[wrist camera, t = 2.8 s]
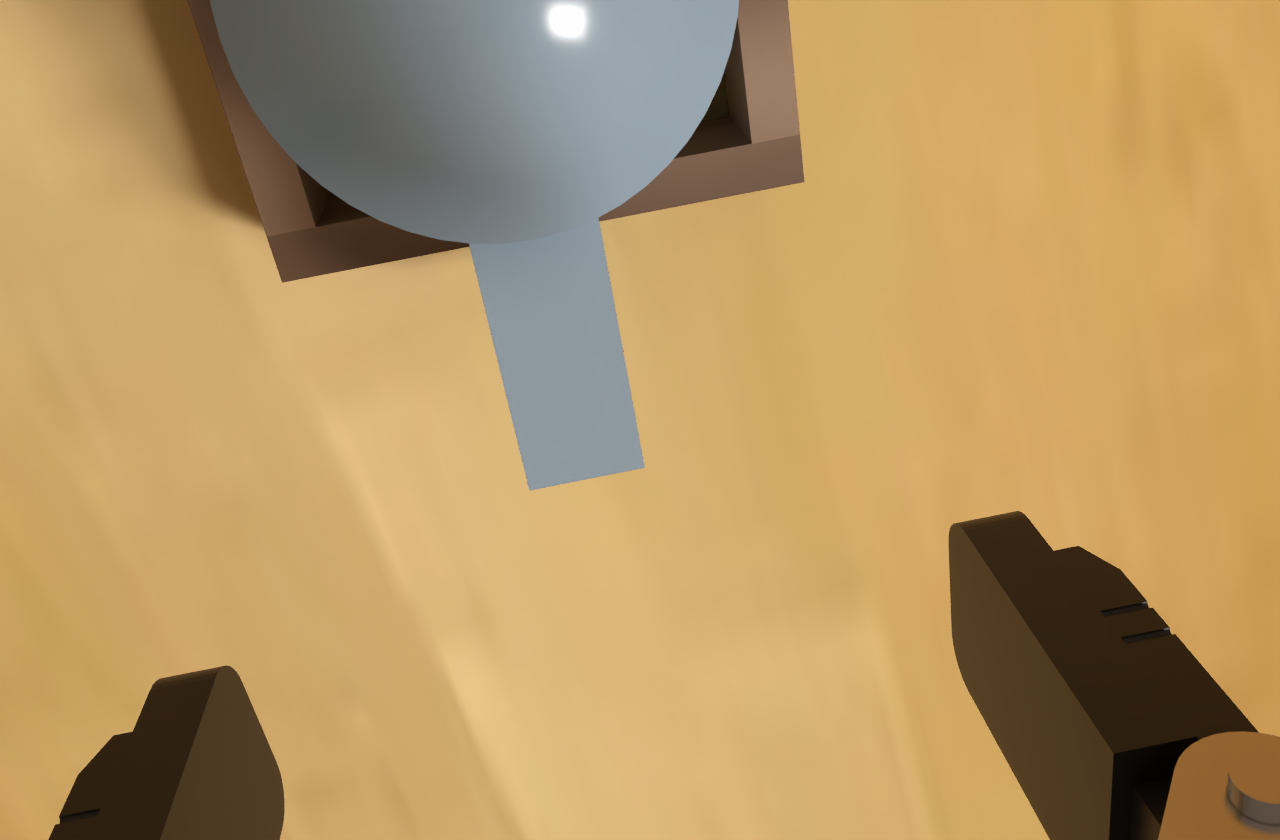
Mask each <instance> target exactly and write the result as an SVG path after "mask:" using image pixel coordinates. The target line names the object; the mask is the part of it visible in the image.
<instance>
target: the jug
mask: <svg viewBox="0 0 1280 840" xmlns="http://www.w3.org/2000/svg"><path fill="white" fill-rule="evenodd" d="M210 4H211V8H212V12H213V16H214V19H215V23H216V27H217V31H218V35H219V39H220V42H221V44H222V47H223V49H224V52H225V54H226V57H227V59H228V62H229V64H230V67H231V69H232V72H233V74H234V76H235V78H236V80H237V82H238V84H239V86H240V87H241V89H242V91H243V93H244V95H245V97H246V98H247V100H248V102H249V104H250V106H251V108H252V109H253V110H254V112H255V113H256V115H257V116H258V117H259V119H260V120H261V122H262V123H263V125H264V126H265V127H266V129H267V130H268V132H269V133H270V134H271V136H272V137H273V138H274V139H275V140H276V142H277V143H278V144H279V145H280V146H281V147H282V148H283V149H284V150H285V152H286V153H287V154H288V155H289V156H290V157H291V158H292V159H293V160H294V162H295V163H296V164H298V165H299V166H300V167H301V168H302V169H303V170H304V171H306V172H307V173H308V174H309V175H310V176H311V177H312V178H313V179H315V180H316V181H317V182H318V183H319V184H320V185H321V186H323V187H324V188H326V189H327V190H329V191H330V192H332V193H333V194H334V195H336V196H337V197H339V198H340V199H342V200H343V201H345V202H346V203H347V204H349V205H351V206H353V207H354V208H356V209H358V210H360V211H362V212H364V213H366V214H368V215H370V216H372V217H373V218H375V219H377V220H379V221H382V222H384V223H387V224H390V225H392V226H395V227H397V228H400V229H403V230H405V231H408V232H411V233H415V234H419V235H423V236H427V237H431V238H435V239H439V240H446V241H454V242H462V243H469V246H470V250H471V254H472V258H473V262H474V266H475V270H476V274H477V278H478V282H479V286H480V291H481V295H482V299H483V303H484V307H485V311H486V315H487V319H488V323H489V327H490V331H491V335H492V339H493V343H494V348H495V352H496V356H497V360H498V364H499V368H500V372H501V376H502V380H503V384H504V388H505V392H506V396H507V400H508V405H509V409H510V413H511V417H512V421H513V425H514V429H515V433H516V437H517V441H518V445H519V449H520V453H521V457H522V462H523V466H524V470H525V474H526V478H527V482H528V486H529V490H535V489H540V488H545V487H550V486H555V485H560V484H565V483H570V482H575V481H580V480H585V479H590V478H595V477H600V476H605V475H610V474H615V473H620V472H625V471H631V470H636V469H641V468H645V467H644V461H643V456H642V450H641V445H640V440H639V434H638V429H637V423H636V418H635V413H634V407H633V402H632V396H631V391H630V386H629V380H628V375H627V369H626V364H625V359H624V353H623V348H622V342H621V337H620V332H619V326H618V321H617V315H616V310H615V305H614V299H613V294H612V288H611V283H610V278H609V272H608V267H607V261H606V256H605V251H604V245H603V240H602V234H601V229H600V224H599V217H600V216H602V215H604V214H606V213H608V212H609V211H611V210H613V209H615V208H617V207H618V206H620V205H622V204H623V203H624V202H626V201H627V200H628V199H630V198H631V197H632V196H634V195H635V194H637V193H638V192H639V191H641V190H642V189H643V188H645V187H646V186H647V185H648V184H649V183H650V182H651V181H652V180H653V179H654V178H655V177H657V176H658V175H659V174H660V173H661V172H662V171H663V170H664V169H665V168H666V167H667V166H668V165H669V164H670V163H671V161H672V160H673V159H674V158H675V157H676V155H677V154H678V153H679V152H680V150H681V149H682V148H683V147H684V146H685V144H686V143H687V142H688V141H689V139H690V138H691V136H692V135H693V133H694V131H695V130H696V128H697V127H698V125H699V123H700V122H701V120H702V119H703V117H704V115H705V114H706V112H707V110H708V108H709V106H710V104H711V101H712V99H713V97H714V95H715V93H716V91H717V89H718V86H719V84H720V82H721V79H722V76H723V73H724V70H725V67H726V64H727V61H728V58H729V55H730V52H731V48H732V43H733V38H734V33H735V28H736V22H737V17H738V7H739V0H210Z"/></svg>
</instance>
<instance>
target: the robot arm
mask: <svg viewBox="0 0 1280 840" xmlns="http://www.w3.org/2000/svg"><path fill="white" fill-rule="evenodd" d="M949 566H950V594H951V622H952V638H953V645H954V650H955V654H956V659H957V662H958V666H959V669H960V672H961V675H962V678H963V680H964V682H965V685H966V687H967V689H968V691H969V693H970V695H971V696H972V698H973V700H974V702H975V704H976V706H977V707H978V709H979V711H980V713H981V715H982V716H983V718H984V720H985V722H986V724H987V726H988V727H989V729H990V731H991V733H992V735H993V736H994V738H995V740H996V742H997V744H998V746H999V747H1000V749H1001V751H1002V753H1003V755H1004V757H1005V758H1006V760H1007V762H1008V764H1009V766H1010V767H1011V769H1012V771H1013V773H1014V775H1015V777H1016V778H1017V780H1018V782H1019V784H1020V786H1021V787H1022V789H1023V791H1024V793H1025V795H1026V797H1027V798H1028V800H1029V802H1030V804H1031V806H1032V807H1033V809H1034V811H1035V813H1036V815H1037V817H1038V818H1039V820H1040V822H1041V824H1042V826H1043V828H1044V829H1045V831H1046V833H1047V835H1048V837H1049V838H1050V840H1280V737H1277V736H1274V735H1269V734H1263V733H1259V732H1258V731H1257V730H1256V729H1255V727H1254V726H1253V725H1252V724H1251V723H1250V722H1249V720H1248V719H1247V718H1246V717H1245V716H1244V715H1243V713H1242V712H1241V711H1240V710H1239V709H1238V707H1237V706H1236V705H1235V704H1234V703H1233V702H1232V700H1231V699H1230V698H1229V697H1228V696H1227V695H1226V693H1225V692H1224V691H1223V690H1222V689H1221V687H1220V686H1219V685H1218V684H1217V683H1216V682H1215V680H1214V679H1213V678H1212V677H1211V676H1210V675H1209V673H1208V672H1207V671H1206V670H1205V669H1204V668H1203V666H1202V665H1201V664H1200V663H1199V662H1198V660H1197V659H1196V658H1195V657H1194V656H1193V655H1192V653H1191V652H1190V651H1189V650H1188V649H1187V648H1186V646H1185V645H1184V644H1183V643H1182V642H1181V640H1180V639H1179V638H1178V637H1177V636H1176V635H1175V634H1173V635H1172V634H1171V633H1170V629H1169V626H1168V625H1167V624H1166V623H1165V622H1164V620H1163V619H1162V618H1161V617H1160V616H1159V615H1158V613H1157V612H1156V611H1155V610H1154V609H1153V608H1149V607H1148V604H1147V600H1146V599H1145V598H1144V597H1143V596H1142V595H1141V593H1140V592H1139V591H1138V590H1137V589H1136V588H1135V586H1134V585H1133V584H1132V583H1131V582H1130V580H1129V579H1128V578H1127V577H1126V576H1125V575H1124V573H1123V572H1122V571H1121V570H1120V569H1118V568H1116V567H1115V566H1113V565H1111V564H1109V563H1108V562H1106V561H1104V560H1102V559H1101V558H1099V557H1097V556H1095V555H1094V554H1092V553H1090V552H1088V551H1086V550H1085V549H1083V548H1081V547H1079V546H1076V547H1071V548H1066V549H1061V550H1056V551H1053V550H1052V548H1051V547H1050V546H1049V545H1048V543H1047V542H1046V541H1045V539H1044V538H1043V537H1042V536H1041V534H1040V533H1039V532H1038V530H1037V529H1036V528H1035V527H1034V525H1033V524H1032V523H1031V521H1030V520H1029V519H1028V518H1027V517H1026V515H1025V514H1023V513H1022V512H1019V511H1016V512H1011V513H1005V514H1000V515H995V516H990V517H985V518H980V519H975V520H970V521H965V522H960V523H955V524H953V525H952V526H951V528H950V531H949ZM59 818H60V824H57V825H55V827H54V829H53V831H52V833H51V835H50V837H49V840H280V835H281V831H282V826H283V820H284V791H283V784H282V779H281V774H280V771H279V768H278V765H277V762H276V760H275V758H274V755H273V753H272V751H271V748H270V746H269V744H268V741H267V739H266V737H265V734H264V732H263V730H262V727H261V725H260V723H259V720H258V718H257V716H256V713H255V711H254V709H253V706H252V704H251V702H250V699H249V697H248V695H247V692H246V690H245V688H244V685H243V683H242V681H241V679H240V677H239V675H238V674H237V672H236V671H235V670H234V669H233V668H232V667H230V666H222V667H217V668H212V669H207V670H202V671H197V672H192V673H186V674H181V675H176V676H171V677H166V678H161V679H159V680H157V681H156V682H155V683H154V684H153V686H152V688H151V690H150V692H149V694H148V697H147V699H146V701H145V704H144V706H143V709H142V711H141V713H140V716H139V718H138V721H137V723H136V725H135V728H134V730H133V732H129V733H124V734H119V735H114V736H113V737H112V738H111V739H110V740H109V741H108V742H107V743H106V745H105V746H104V747H103V748H102V749H101V750H100V751H99V752H98V753H97V755H96V756H95V757H94V758H93V759H92V760H91V761H90V762H89V763H88V765H87V766H86V767H85V768H84V769H83V770H82V771H81V772H80V773H79V775H78V776H77V778H76V781H75V783H74V785H73V787H72V789H71V792H70V794H69V796H68V798H67V800H66V802H65V805H64V807H63V809H62V811H61V813H60V816H59Z"/></svg>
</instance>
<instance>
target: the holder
mask: <svg viewBox="0 0 1280 840" xmlns="http://www.w3.org/2000/svg"><path fill="white" fill-rule="evenodd" d="M188 3H189V6H190V9H191V12H192V15H193V18H194V21H195V24H196V27H197V30H198V33H199V36H200V39H201V42H202V45H203V48H204V51H205V54H206V57H207V60H208V63H209V66H210V69H211V72H212V75H213V78H214V81H215V84H216V87H217V90H218V93H219V96H220V99H221V102H222V105H223V108H224V111H225V114H226V117H227V120H228V123H229V126H230V129H231V131H232V134H233V137H234V140H235V143H236V146H237V149H238V152H239V155H240V158H241V161H242V164H243V167H244V170H245V173H246V176H247V179H248V182H249V185H250V188H251V191H252V194H253V197H254V200H255V203H256V206H257V209H258V212H259V215H260V218H261V221H262V224H263V227H264V230H265V233H266V236H267V239H268V242H269V245H270V248H271V251H272V254H273V257H274V259H275V262H276V265H277V268H278V271H279V274H280V277H281V280H282V282H287V281H292V280H298V279H303V278H308V277H313V276H318V275H324V274H329V273H334V272H339V271H344V270H350V269H355V268H360V267H365V266H370V265H375V264H381V263H386V262H391V261H396V260H401V259H407V258H412V257H417V256H422V255H427V254H433V253H438V252H443V251H448V250H453V249H459V248H464V247H469V243H462V242H454V241H446V240H439V239H435V238H431V237H427V236H423V235H419V234H415V233H411V232H408V231H405V230H403V229H400V228H397V227H395V226H392V225H390V224H387V223H384V222H382V221H379V220H377V219H375V218H373V217H372V216H370V215H368V214H366V213H364V212H362V211H360V210H358V209H356V208H354V207H353V206H351V205H349V204H347V203H346V202H345V201H343V200H342V199H340V198H339V197H337V196H336V195H334V194H333V193H332V192H330V191H329V190H327V189H326V188H324V187H323V186H321V185H320V184H319V183H318V182H317V181H316V180H315V179H313V178H312V177H311V176H310V175H309V174H308V173H307V172H306V171H304V170H303V169H302V168H301V167H300V166H299V165H298V164H296V163H295V162H294V160H293V159H292V158H291V157H290V156H289V155H288V154H287V153H286V152H285V150H284V149H283V148H282V147H281V146H280V145H279V144H278V143H277V142H276V140H275V139H274V138H273V137H272V136H271V134H270V133H269V132H268V130H267V129H266V127H265V126H264V125H263V123H262V122H261V120H260V119H259V117H258V116H257V115H256V113H255V112H254V110H253V109H252V108H251V106H250V104H249V102H248V100H247V98H246V97H245V95H244V93H243V91H242V89H241V87H240V86H239V84H238V82H237V80H236V78H235V76H234V74H233V72H232V69H231V67H230V64H229V62H228V59H227V57H226V54H225V52H224V49H223V47H222V44H221V42H220V39H219V35H218V31H217V27H216V23H215V19H214V16H213V12H212V8H211V4H210V0H188ZM724 77H725V85H726V93H727V102H728V110H729V117H725V118H720V119H714V120H709V121H704V122H700V123H699V125H698V127H697V128H696V130H695V131H694V133H693V135H692V136H691V138H690V139H689V141H688V142H687V143H686V144H685V146H684V147H683V148H682V149H681V150H680V152H679V153H678V154H677V155H676V157H675V158H674V159H673V160H672V161H671V163H670V164H669V165H668V166H667V167H666V168H665V169H664V170H663V171H662V172H661V173H660V174H659V175H658V176H657V177H655V178H654V179H653V180H652V181H651V182H650V183H649V184H648V185H647V186H646V187H645V188H643V189H642V190H641V191H639V192H638V193H637V194H635V195H634V196H632V197H631V198H630V199H628V200H627V201H626V202H624V203H623V204H622V205H620V206H618V207H617V208H615V209H613V210H611V211H609V212H608V213H606V214H604V215H602V216H600V217H599V221H604V220H609V219H614V218H619V217H625V216H630V215H635V214H640V213H645V212H651V211H656V210H661V209H666V208H671V207H677V206H682V205H687V204H692V203H697V202H703V201H708V200H713V199H718V198H723V197H728V196H734V195H739V194H744V193H749V192H754V191H760V190H765V189H770V188H775V187H780V186H786V185H791V184H796V183H801V182H804V174H803V164H802V153H801V142H800V131H799V120H798V109H797V98H796V88H795V77H794V66H793V55H792V44H791V33H790V22H789V12H788V1H787V0H739V7H738V17H737V22H736V28H735V33H734V38H733V43H732V48H731V52H730V55H729V58H728V61H727V64H726V67H725V70H724Z"/></svg>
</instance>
